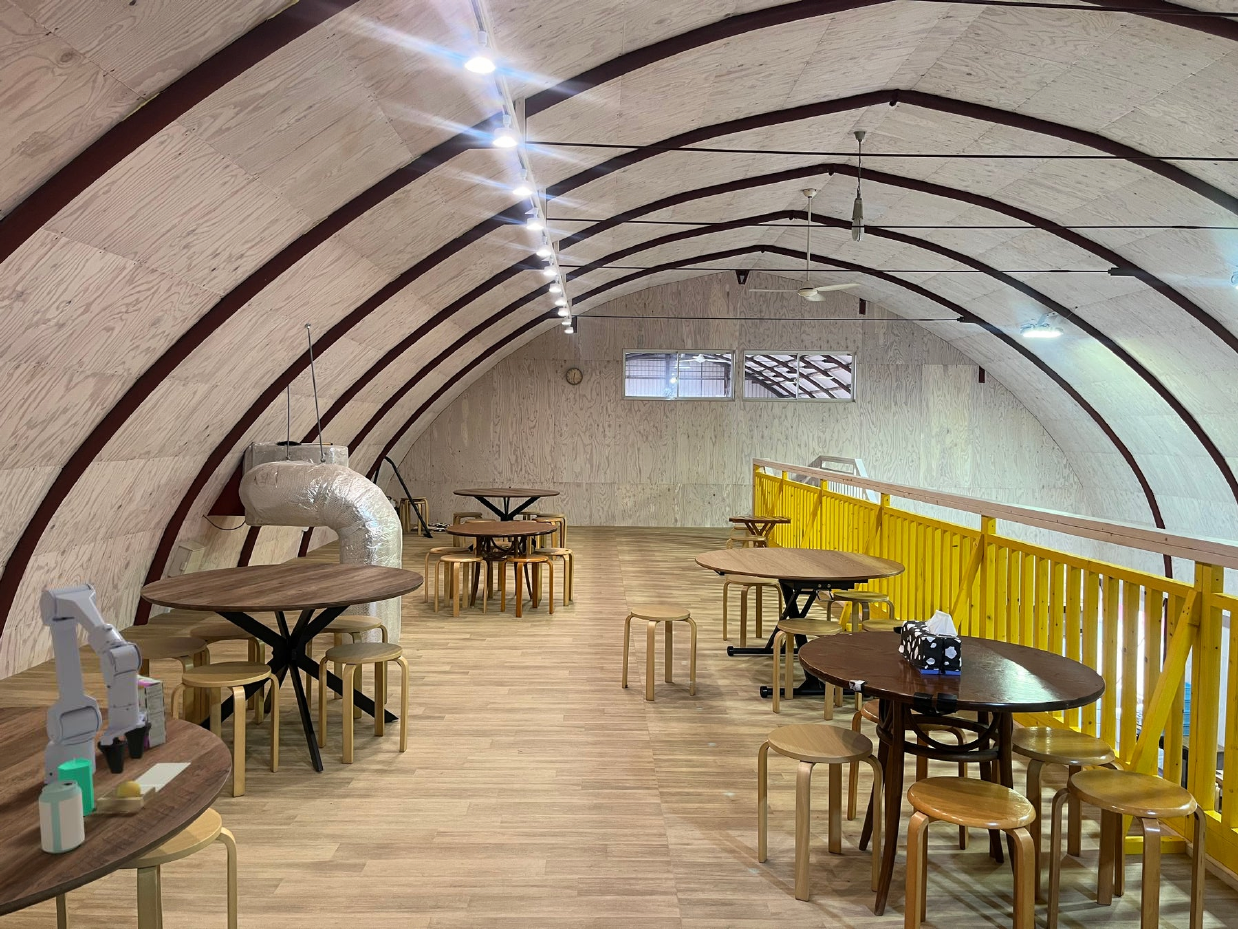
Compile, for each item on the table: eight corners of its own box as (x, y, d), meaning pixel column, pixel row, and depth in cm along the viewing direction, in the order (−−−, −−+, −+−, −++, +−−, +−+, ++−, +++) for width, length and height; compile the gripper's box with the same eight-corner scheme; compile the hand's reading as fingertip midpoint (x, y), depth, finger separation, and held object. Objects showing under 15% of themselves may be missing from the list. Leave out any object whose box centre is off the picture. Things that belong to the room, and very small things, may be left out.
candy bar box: (123, 743, 232) (119, 679, 231) (142, 737, 236) (138, 673, 235) (148, 751, 226) (144, 685, 225) (168, 745, 230) (164, 680, 229)
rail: (97, 812, 193) (96, 800, 193) (113, 799, 199) (112, 787, 199) (140, 811, 193) (140, 799, 193) (156, 798, 199) (155, 787, 199)
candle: (70, 822, 189) (66, 764, 188) (55, 815, 192) (51, 759, 191) (100, 810, 194) (96, 754, 193) (84, 804, 197) (81, 749, 196)
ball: (113, 807, 195) (111, 787, 194) (125, 797, 199) (123, 777, 199) (134, 807, 195) (132, 787, 194) (145, 797, 199) (144, 777, 198)
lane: (103, 809, 194) (102, 805, 194) (157, 766, 217) (157, 763, 216) (141, 808, 194) (140, 805, 194) (191, 766, 216) (191, 762, 216)
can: (50, 840, 181) (46, 780, 180) (89, 835, 182) (86, 776, 181) (36, 857, 174) (32, 795, 173) (77, 852, 175) (73, 791, 175)
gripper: (123, 714, 188) (127, 779, 189) (159, 691, 202) (162, 752, 203) (88, 715, 188) (92, 780, 189) (127, 692, 203) (130, 752, 204)
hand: (126, 765), depth 196 cm, fingers open, 7 cm apart
